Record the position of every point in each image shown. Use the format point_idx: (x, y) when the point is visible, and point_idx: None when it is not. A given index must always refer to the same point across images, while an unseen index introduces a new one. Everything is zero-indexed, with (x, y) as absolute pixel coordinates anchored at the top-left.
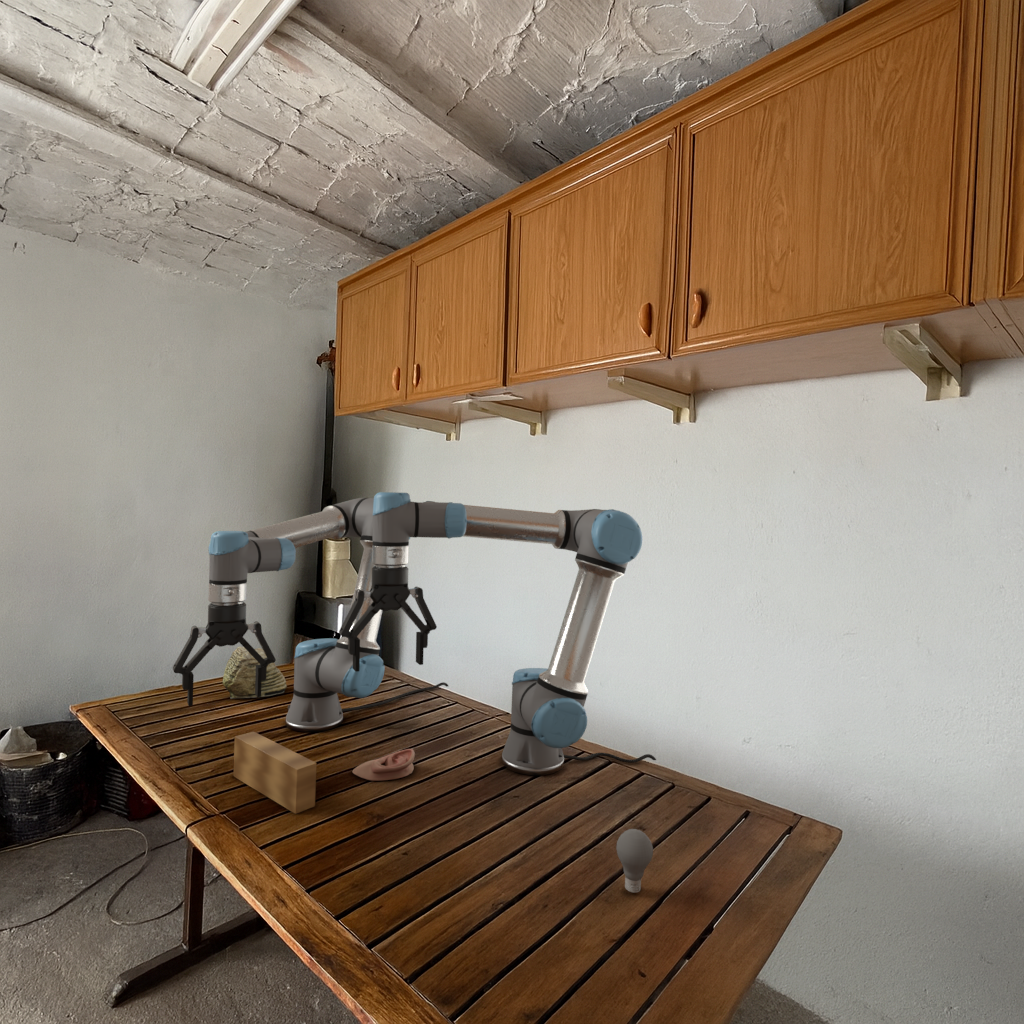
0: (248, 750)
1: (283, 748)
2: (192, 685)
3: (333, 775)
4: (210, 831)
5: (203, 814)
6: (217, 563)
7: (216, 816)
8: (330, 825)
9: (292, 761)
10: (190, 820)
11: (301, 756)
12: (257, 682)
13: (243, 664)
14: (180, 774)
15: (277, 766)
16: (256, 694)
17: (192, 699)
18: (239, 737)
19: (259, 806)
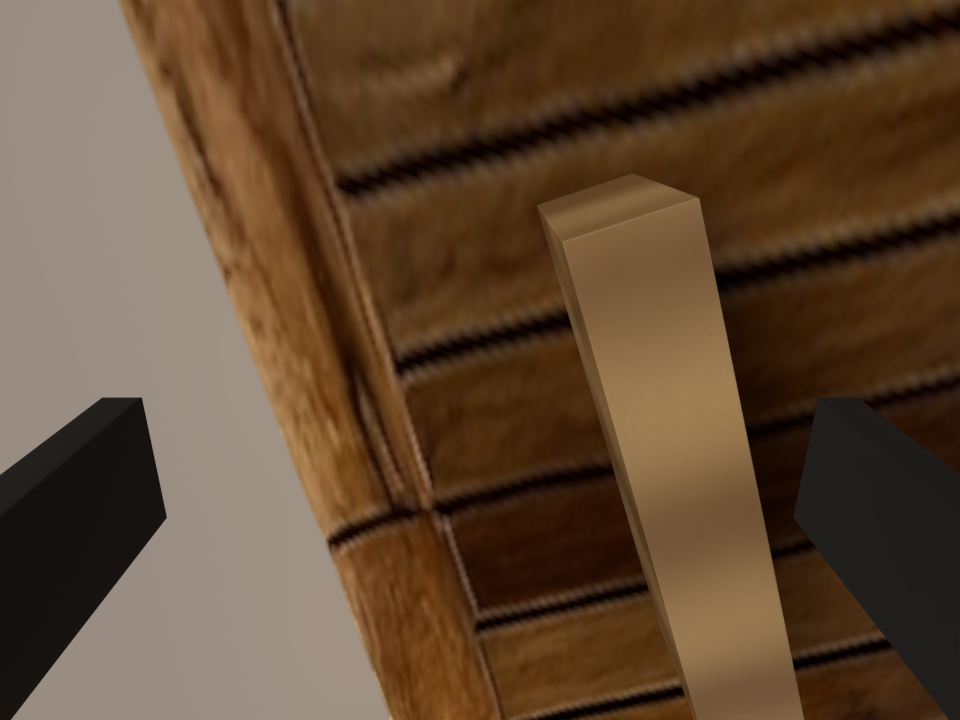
0: (600, 388)
1: (751, 540)
2: (17, 698)
3: (917, 397)
4: (391, 603)
5: (379, 493)
6: None
7: (419, 524)
8: None
9: (724, 686)
10: (336, 514)
11: (783, 657)
12: (889, 614)
13: None
14: (303, 50)
15: (665, 618)
16: (809, 481)
17: (128, 562)
18: (585, 275)
19: (567, 519)
